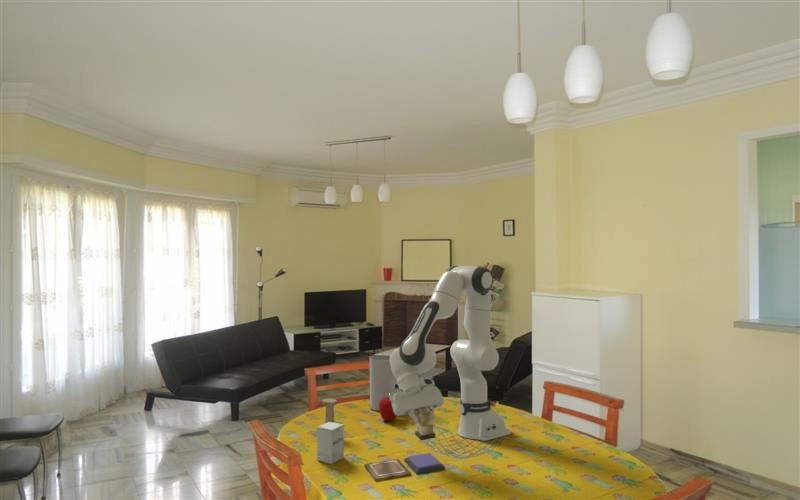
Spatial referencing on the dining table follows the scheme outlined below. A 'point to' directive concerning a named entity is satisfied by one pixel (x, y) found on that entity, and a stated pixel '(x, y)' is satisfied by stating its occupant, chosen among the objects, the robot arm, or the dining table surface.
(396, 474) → the marked board
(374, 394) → the cylinder vase
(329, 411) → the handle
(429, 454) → the ink pad
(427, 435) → the wooden stamp
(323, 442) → the supplement box
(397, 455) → the dining table surface
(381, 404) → the apple
